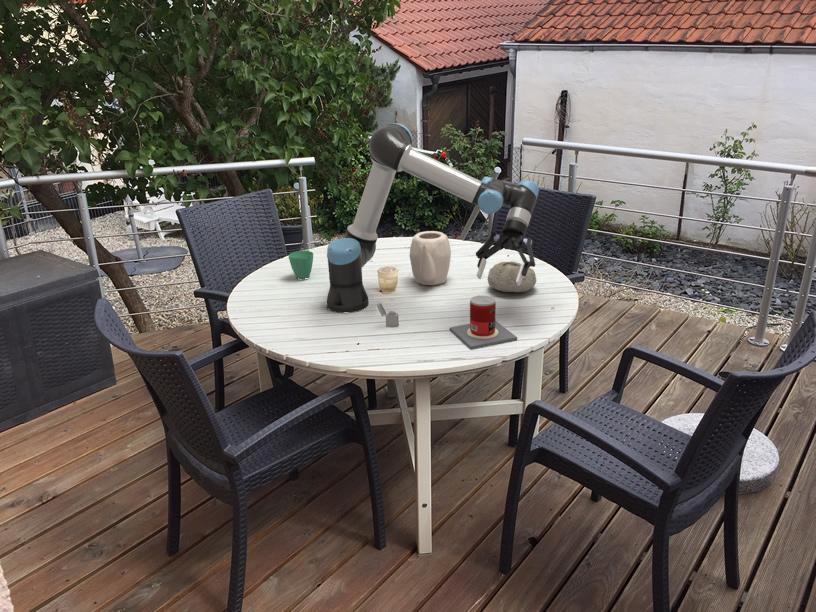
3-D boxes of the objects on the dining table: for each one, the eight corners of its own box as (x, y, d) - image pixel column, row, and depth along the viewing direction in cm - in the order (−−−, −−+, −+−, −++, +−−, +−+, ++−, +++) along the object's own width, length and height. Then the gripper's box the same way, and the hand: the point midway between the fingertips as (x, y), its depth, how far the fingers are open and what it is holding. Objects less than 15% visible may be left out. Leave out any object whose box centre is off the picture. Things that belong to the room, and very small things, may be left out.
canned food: (494, 337, 214) (494, 304, 210) (468, 336, 215) (468, 303, 211) (496, 327, 221) (496, 295, 217) (471, 326, 222) (471, 294, 218)
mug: (312, 282, 271) (309, 258, 268) (288, 282, 272) (285, 258, 269) (320, 270, 285) (318, 247, 281) (297, 270, 286) (295, 247, 282)
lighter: (399, 325, 228) (398, 303, 225) (397, 327, 227) (396, 305, 224) (378, 324, 230) (377, 302, 227) (377, 326, 228) (375, 304, 225)
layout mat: (470, 349, 209) (470, 346, 209) (449, 330, 223) (449, 327, 223) (517, 340, 214) (517, 336, 214) (493, 321, 228) (493, 318, 228)
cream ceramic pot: (404, 294, 255) (402, 245, 248) (416, 270, 280) (415, 226, 273) (445, 295, 252) (445, 246, 246) (454, 271, 277) (454, 226, 270)
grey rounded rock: (533, 281, 263) (534, 256, 259) (538, 298, 246) (539, 272, 243) (486, 282, 264) (486, 257, 261) (488, 299, 248) (488, 272, 244)
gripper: (555, 234, 225) (537, 291, 219) (484, 225, 237) (466, 279, 230) (550, 222, 219) (532, 281, 213) (479, 214, 230) (459, 269, 224)
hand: (497, 280), depth 221 cm, fingers open, 13 cm apart
